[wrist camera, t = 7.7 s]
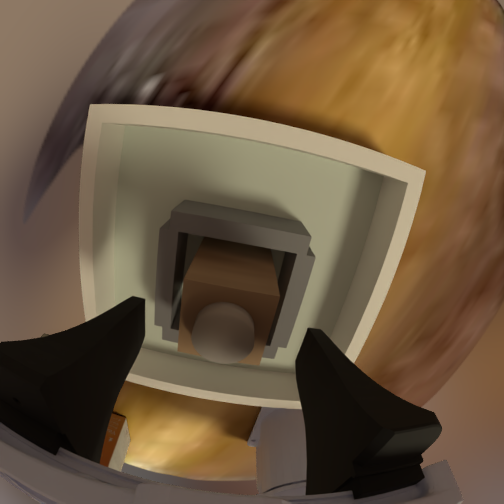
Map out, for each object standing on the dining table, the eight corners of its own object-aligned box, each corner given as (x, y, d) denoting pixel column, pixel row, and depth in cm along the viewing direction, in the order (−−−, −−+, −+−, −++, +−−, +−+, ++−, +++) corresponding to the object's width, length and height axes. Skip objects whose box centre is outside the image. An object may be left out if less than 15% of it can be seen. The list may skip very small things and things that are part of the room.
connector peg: (256, 303, 18) (259, 379, 12) (196, 292, 18) (173, 365, 12) (270, 247, 17) (282, 309, 11) (205, 234, 17) (178, 290, 10)
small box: (127, 416, 25) (95, 509, 13) (131, 440, 27) (107, 520, 15) (67, 393, 24) (25, 473, 12) (77, 420, 27) (45, 492, 14)
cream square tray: (318, 375, 22) (326, 409, 19) (112, 339, 21) (94, 370, 17) (393, 164, 16) (425, 171, 12) (121, 111, 15) (90, 104, 11)
